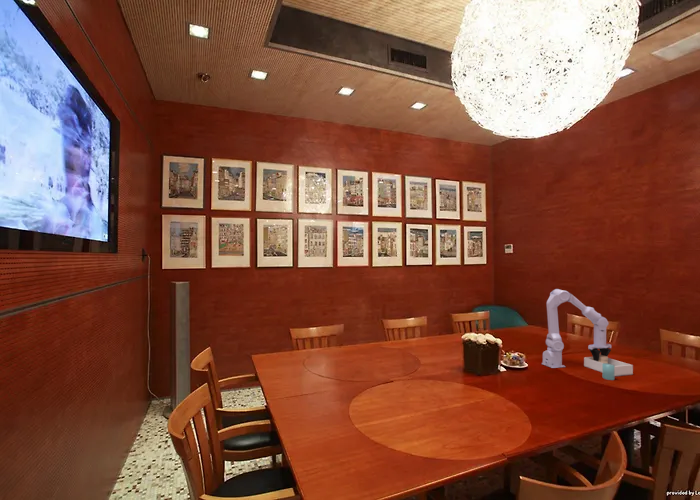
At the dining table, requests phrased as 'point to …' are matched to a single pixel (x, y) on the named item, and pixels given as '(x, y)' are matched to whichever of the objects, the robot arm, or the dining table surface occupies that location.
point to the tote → (620, 366)
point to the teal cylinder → (608, 371)
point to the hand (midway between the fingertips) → (599, 361)
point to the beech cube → (602, 359)
